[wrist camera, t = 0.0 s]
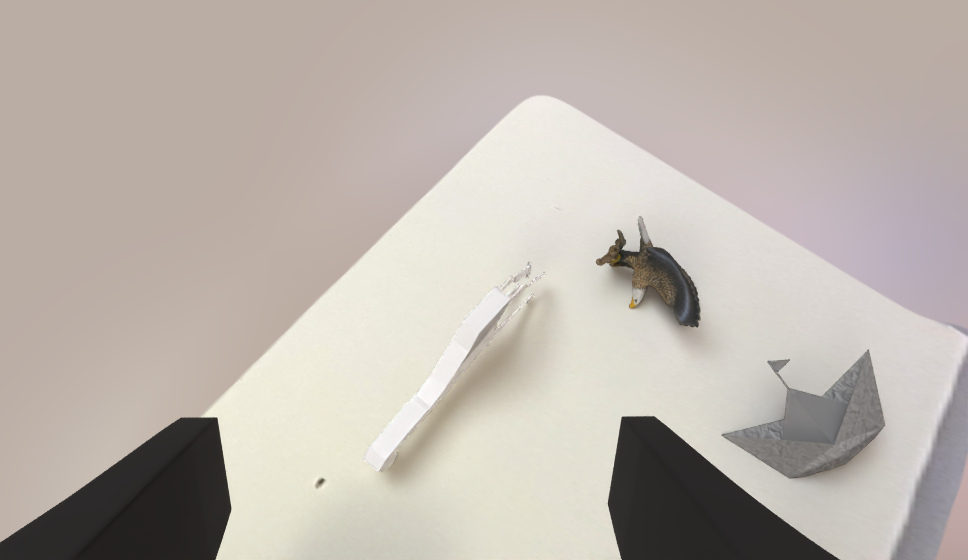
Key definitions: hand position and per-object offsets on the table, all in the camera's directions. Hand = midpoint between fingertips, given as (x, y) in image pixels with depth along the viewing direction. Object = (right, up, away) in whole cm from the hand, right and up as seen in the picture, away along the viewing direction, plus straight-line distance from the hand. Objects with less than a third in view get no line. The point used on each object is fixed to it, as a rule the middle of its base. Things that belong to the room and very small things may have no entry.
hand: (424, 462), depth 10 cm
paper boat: (+25, -8, +35) cm, 44 cm away
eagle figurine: (+15, +2, +39) cm, 42 cm away
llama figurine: (-1, -4, +35) cm, 35 cm away
